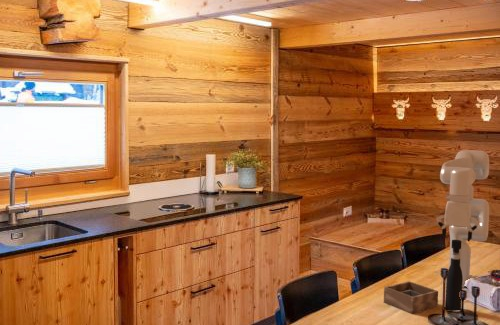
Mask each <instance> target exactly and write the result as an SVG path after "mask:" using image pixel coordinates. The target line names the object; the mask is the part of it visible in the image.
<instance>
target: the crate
mask: <svg viewBox="0 0 500 325" xmlns="http://www.w3.org/2000/svg"><path fill="white" fill-rule="evenodd" d="M383 303H384V304H386V305H388V306H391V307H394V308H396V309H399V310H400V311H402V312H403V311H404V312H405V313H409V314H411V315H414V314H417V313H421V312H424V311H427V310H428V309H429V310H432V309H436V308H438V306H439V305H438V303H439V290H435V289H433V288H430V287H427V286H425V285H421V284H418V283H416V282H412V281H410V280H409V281H403V282H400V283H397V284H393V285H387V286H384V287H383ZM435 307H436V308H435Z"/></svg>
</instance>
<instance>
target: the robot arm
mask: <svg viewBox="0 0 500 325" xmlns="http://www.w3.org/2000/svg"><path fill="white" fill-rule="evenodd" d="M489 158H490V157H489V154H488V153H487V152H486V151H485V150H473V149H472V150H470V149H465V150H464V149H463V150H460V151H458V152H457V153H456V155H455V157H454V159H451V160H448V161H446V162H443V164H442V166H441V169H440V173H439V179H440V181H441V183H442V184H445V185H449V194H446V195H445V199H448V201H447V202H446V205H445V212H444V214H441V215H440V216H436V218H435V219H436V222H437V224H438V225H439V226H440V228H441V236H442V237H443V239H446V238H447V230H448V232H449V243H450V244H449V262H448V268H449V267H450V265H451V258H452V254H453V248H451V246H452V240H460V241H462V242H461V249H459V254H460V267H461V270H462V276H463V282H462V289H463V288H464V284H465V281H466V280H468V279H470V278H476V277H478V278H479V276H478V275H474V276H473V274H470V273H471V272H470V270H471V258H472V257H471V256H472V255H471V253H472V249H471V246H470V244H469V243H468V242H470V241H472V242H485V241H487V239H488V236H489V224H490V204H489V202H488V201H487V200H486V199H484V198H474V191H475V190H474V186H473V184H474V183H475V181H476V180H485V179H487V178H488V176H489V174H490V159H489ZM442 219H444V223H443V222H442ZM447 227H448V229H447ZM446 280H447V278H446Z"/></svg>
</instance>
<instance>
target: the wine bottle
mask: <svg viewBox="0 0 500 325" xmlns="http://www.w3.org/2000/svg"><path fill="white" fill-rule="evenodd" d="M461 242H462V241H460V240H452V246H451V248H453V254H452V258H451V265H450V267H449V266H448V271H447V273H448V276H447V275H446V279H447V280H446V283H445V302H444V310H445V309H446V311H447V310H461V311H462V300H461V299H460V297H459V292H460V290H462V291H463V288H462V282H463V276H462V270H461V267H460V254H459V249H461Z"/></svg>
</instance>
